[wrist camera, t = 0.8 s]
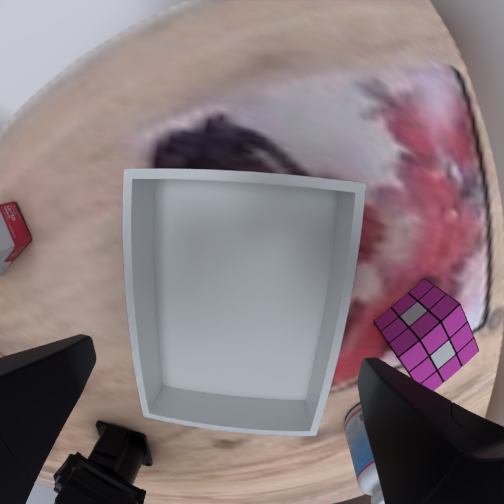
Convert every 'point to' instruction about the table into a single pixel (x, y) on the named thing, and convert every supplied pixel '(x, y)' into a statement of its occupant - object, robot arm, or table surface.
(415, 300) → the puzzle toy
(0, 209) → the ink box
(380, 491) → the pill bottle
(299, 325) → the tote
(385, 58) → the table surface
